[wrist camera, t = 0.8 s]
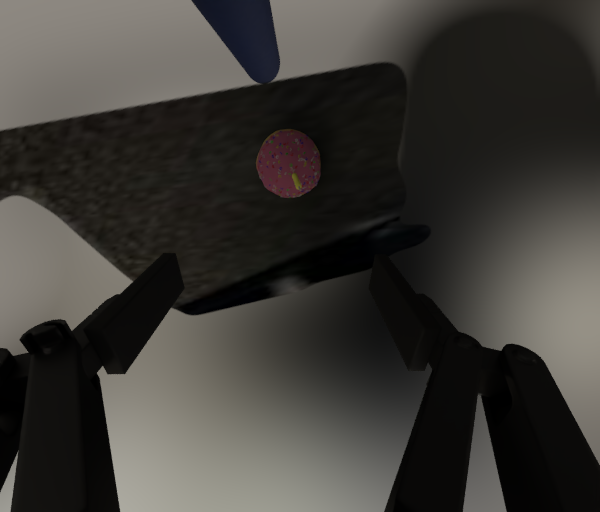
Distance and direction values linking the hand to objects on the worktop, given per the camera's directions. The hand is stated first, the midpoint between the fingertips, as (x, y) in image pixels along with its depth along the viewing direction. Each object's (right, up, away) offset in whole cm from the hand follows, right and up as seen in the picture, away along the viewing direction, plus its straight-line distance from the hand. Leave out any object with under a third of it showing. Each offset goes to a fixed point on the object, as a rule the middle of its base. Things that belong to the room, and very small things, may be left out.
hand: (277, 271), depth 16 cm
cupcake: (0, +15, +19) cm, 25 cm away
